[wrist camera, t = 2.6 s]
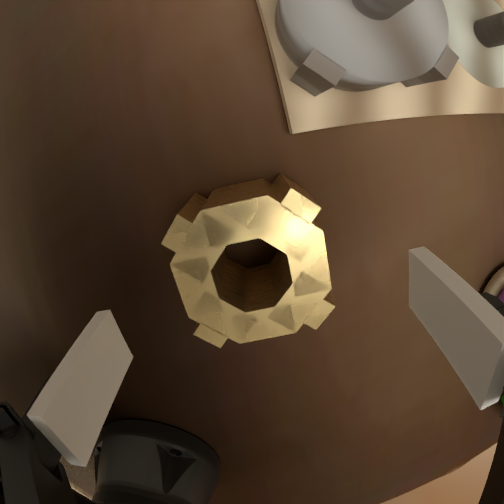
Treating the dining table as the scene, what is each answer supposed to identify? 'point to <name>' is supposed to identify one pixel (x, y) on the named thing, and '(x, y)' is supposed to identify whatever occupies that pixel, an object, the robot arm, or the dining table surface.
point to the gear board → (376, 101)
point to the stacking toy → (496, 285)
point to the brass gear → (254, 278)
